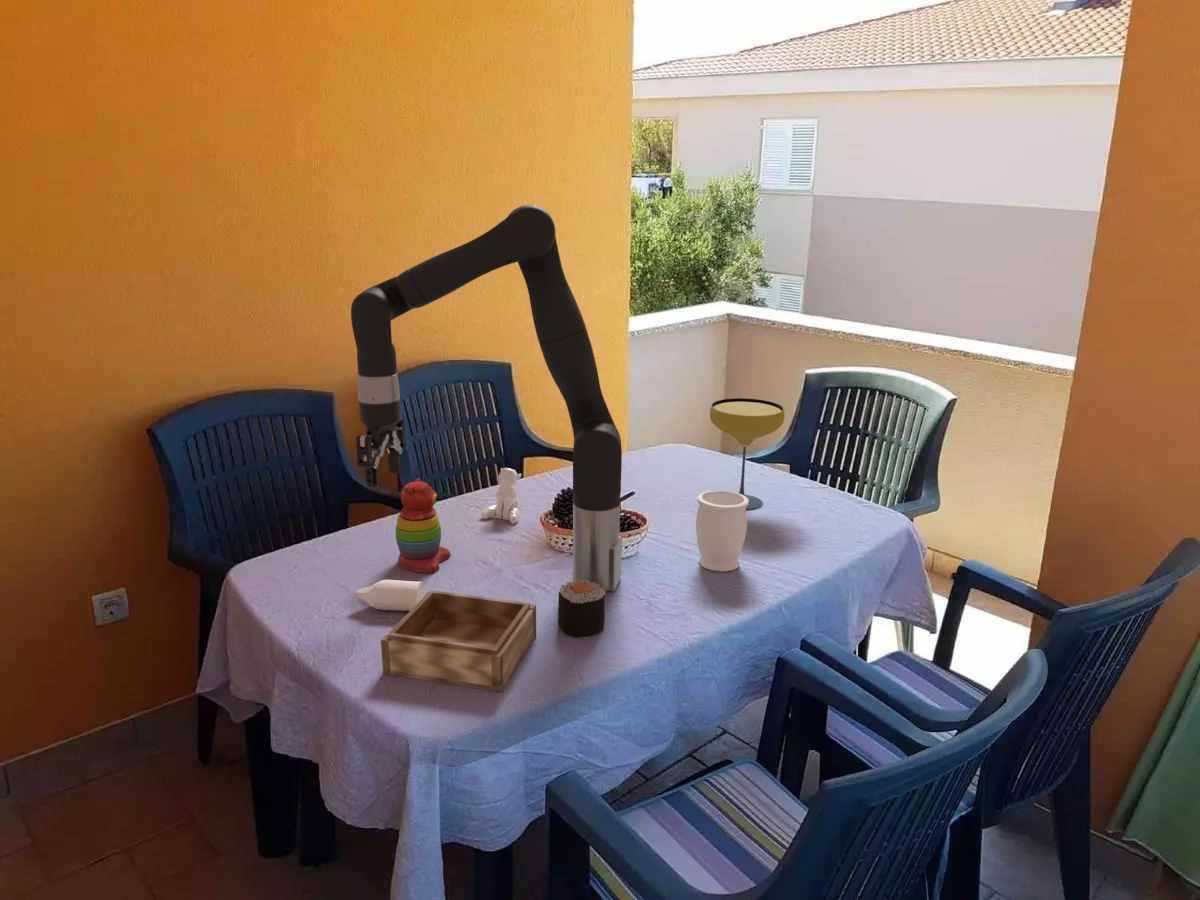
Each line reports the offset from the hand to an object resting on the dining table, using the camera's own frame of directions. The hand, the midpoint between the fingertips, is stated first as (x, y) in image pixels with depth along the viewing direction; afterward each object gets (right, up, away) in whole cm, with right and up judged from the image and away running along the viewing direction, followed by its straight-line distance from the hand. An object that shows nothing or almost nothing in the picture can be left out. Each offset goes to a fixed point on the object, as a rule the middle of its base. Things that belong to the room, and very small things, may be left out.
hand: (384, 479), depth 170 cm
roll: (+2, -24, -2) cm, 25 cm away
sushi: (+38, -27, -8) cm, 47 cm away
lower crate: (+18, -29, -18) cm, 39 cm away
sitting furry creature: (+19, -10, +44) cm, 49 cm away
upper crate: (+18, -29, -18) cm, 39 cm away
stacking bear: (+4, -18, +18) cm, 26 cm away
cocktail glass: (+77, -8, +54) cm, 95 cm away
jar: (+67, -19, +19) cm, 72 cm away
